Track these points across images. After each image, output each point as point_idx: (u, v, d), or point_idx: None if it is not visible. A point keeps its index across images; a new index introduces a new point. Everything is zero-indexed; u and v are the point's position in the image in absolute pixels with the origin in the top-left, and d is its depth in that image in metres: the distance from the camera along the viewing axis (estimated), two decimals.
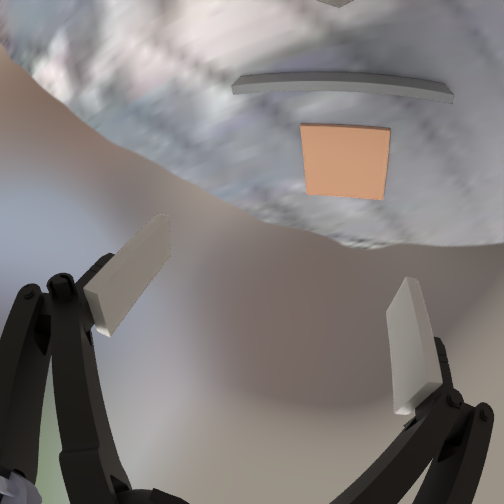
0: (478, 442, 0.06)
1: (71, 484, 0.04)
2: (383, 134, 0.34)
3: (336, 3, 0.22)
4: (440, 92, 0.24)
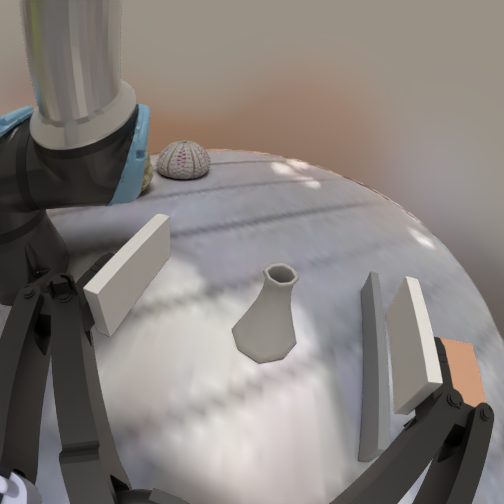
0: (478, 442, 0.06)
1: (71, 484, 0.04)
2: None
3: (294, 335, 0.32)
4: (371, 279, 0.39)
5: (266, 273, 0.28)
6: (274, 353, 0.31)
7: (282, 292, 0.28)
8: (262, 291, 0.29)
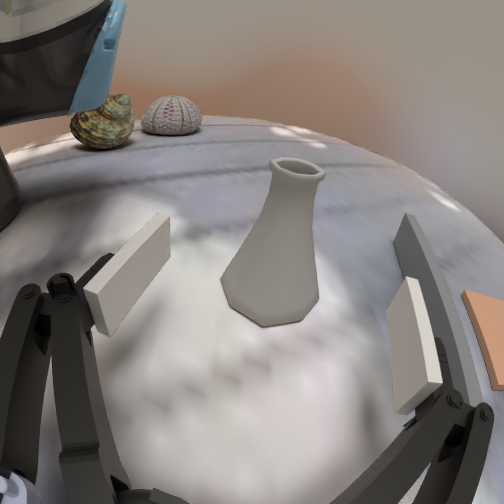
0: (478, 442, 0.06)
1: (71, 484, 0.04)
2: (471, 296, 0.24)
3: (316, 284, 0.21)
4: (409, 220, 0.28)
5: (274, 163, 0.16)
6: (288, 310, 0.19)
7: (300, 195, 0.17)
8: (267, 201, 0.18)
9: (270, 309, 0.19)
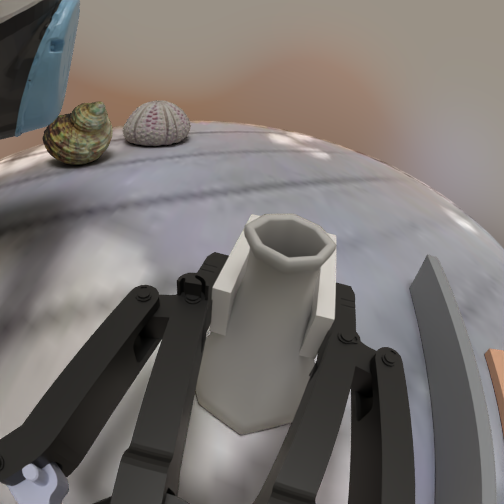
0: (392, 391, 0.09)
1: (122, 484, 0.05)
2: (496, 356, 0.18)
3: None
4: (432, 266, 0.22)
5: (251, 233, 0.10)
6: (273, 416, 0.13)
7: (293, 285, 0.10)
8: (243, 283, 0.12)
9: (249, 419, 0.13)
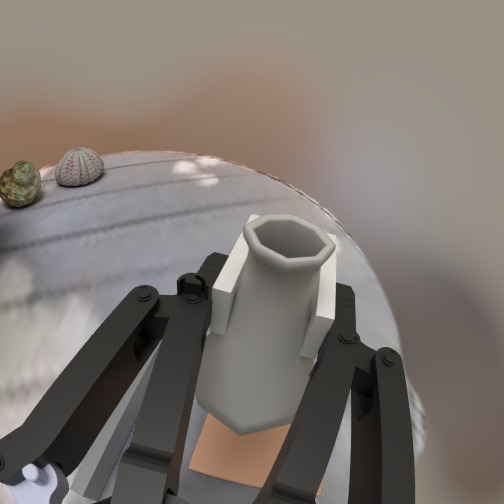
0: (392, 391, 0.08)
1: (122, 484, 0.05)
2: None
3: None
4: None
5: (250, 234, 0.10)
6: (272, 417, 0.13)
7: (293, 286, 0.10)
8: (242, 284, 0.12)
9: (248, 420, 0.13)
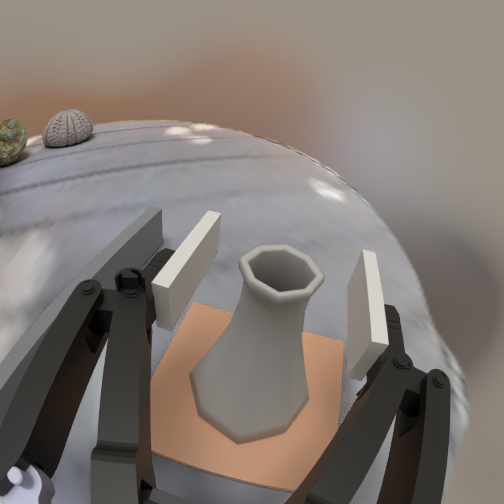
0: (437, 411, 0.08)
1: (98, 481, 0.05)
2: (197, 311, 0.22)
3: (306, 389, 0.16)
4: (142, 215, 0.26)
5: (244, 267, 0.11)
6: (267, 427, 0.14)
7: (284, 314, 0.11)
8: (238, 308, 0.13)
9: (245, 429, 0.14)
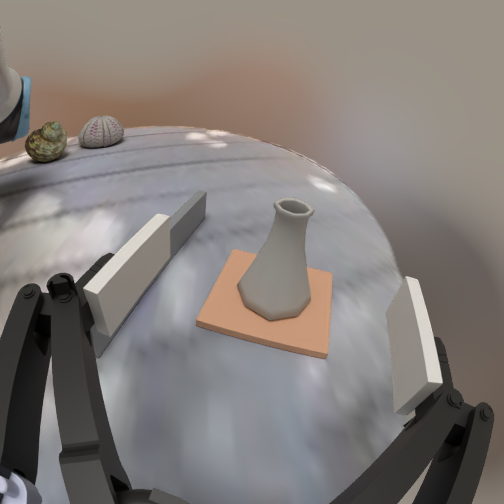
0: (478, 442, 0.06)
1: (71, 484, 0.04)
2: (236, 254, 0.35)
3: (309, 289, 0.29)
4: (194, 195, 0.39)
5: (277, 205, 0.24)
6: (287, 308, 0.27)
7: (295, 227, 0.24)
8: (272, 230, 0.26)
9: (274, 307, 0.26)
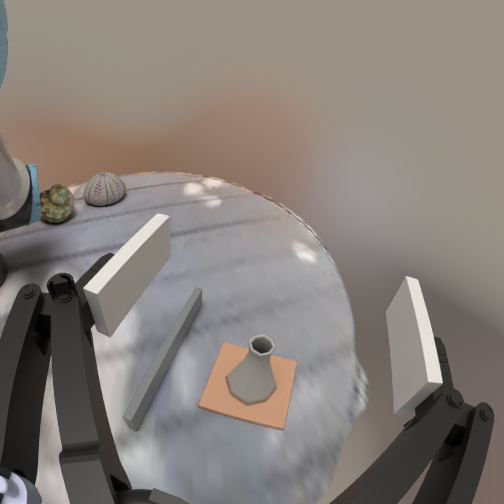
0: (478, 442, 0.06)
1: (71, 484, 0.04)
2: (225, 347, 0.45)
3: (274, 383, 0.39)
4: (192, 294, 0.49)
5: (250, 345, 0.34)
6: (258, 398, 0.37)
7: (262, 358, 0.34)
8: (247, 354, 0.36)
9: (249, 398, 0.37)
